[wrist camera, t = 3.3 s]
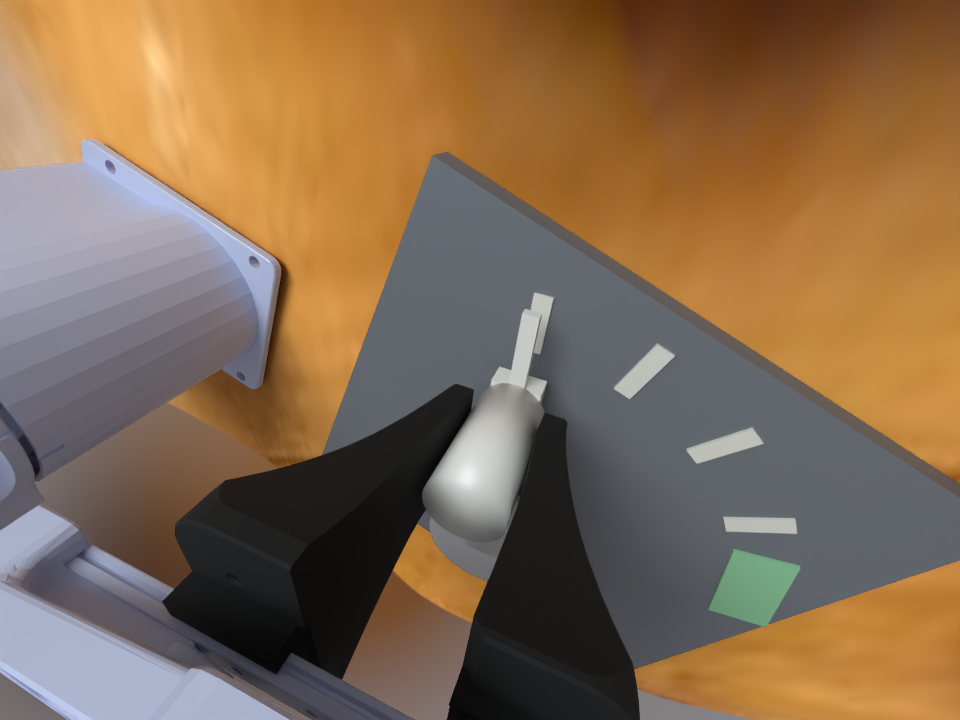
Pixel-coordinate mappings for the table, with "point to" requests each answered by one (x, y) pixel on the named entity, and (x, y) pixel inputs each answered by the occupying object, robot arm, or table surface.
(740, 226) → the table surface
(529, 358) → the tuning lever
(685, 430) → the gauge board
